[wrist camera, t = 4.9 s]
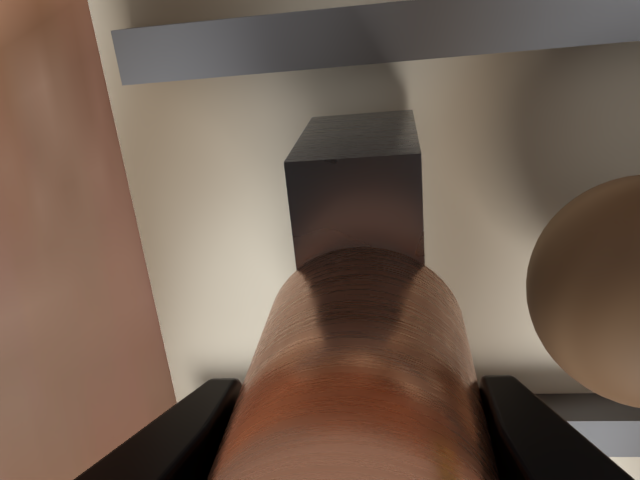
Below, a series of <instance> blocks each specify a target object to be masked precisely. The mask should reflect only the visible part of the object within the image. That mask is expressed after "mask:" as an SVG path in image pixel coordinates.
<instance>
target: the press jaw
mask: <svg viewBox="0 0 640 480" xmlns="http://www.w3.org/2000/svg"><path fill="white" fill-rule="evenodd" d="M284 170H285V178H286V187H287V195H288V203H289V212H290V220H291V228H292V237H293V245H294V254H295V262H296V271H295V272H294V273H293V274H292V275H291V276H290V277H289V278H288V279H287V281H286V282H285V283H284V284H283V286H282V287H281V289H280V290H279V292H278V294H277V296H276V298H275V300H274V303H273V305H272V308H271V310H270V313H269V316H268V318H267V321H266V324H265V326H264V329H263V332H262V334H261V337H260V340H259V342H258V345H257V348H256V350H255V353H254V356H253V358H252V361H251V364H250V366H249V369H248V372H247V374H246V377H245V380H244V382H243V385H242V387H241V390H240V393H239V395H238V398H237V401H236V403H235V406H234V409H233V411H232V414H231V417H230V419H229V422H228V425H227V427H226V430H225V433H224V435H223V438H222V441H221V443H220V446H219V449H218V451H217V454H216V457H215V459H214V462H213V465H212V467H211V470H210V473H209V475H208V478H207V480H500V478H499V474H498V469H497V465H496V461H495V456H494V452H493V447H492V443H491V439H490V434H489V430H488V425H487V421H486V417H485V412H484V408H483V403H482V399H481V395H480V390H479V386H478V381H477V377H476V372H475V368H474V364H473V359H472V355H471V351H470V346H469V342H468V337H467V333H466V329H465V324H464V320H463V316H462V312H461V309H460V307H459V304H458V302H457V300H456V298H455V296H454V295H453V293H452V291H451V290H450V289H449V287H448V286H447V285H446V284H445V282H444V281H443V280H442V279H441V278H440V277H439V276H438V275H437V274H436V273H435V272H434V271H432V270H431V269H429V268H428V267H427V266H425V253H424V222H423V190H422V159H421V149H420V144H419V139H418V134H417V129H416V124H415V119H414V114H413V110H401V111H388V112H374V113H361V114H348V115H335V116H321V117H312V118H311V120H310V121H309V123H308V124H307V126H306V128H305V129H304V131H303V132H302V134H301V135H300V137H299V139H298V140H297V142H296V143H295V145H294V147H293V148H292V150H291V151H290V153H289V155H288V156H287V158H286V159H285V161H284Z"/></svg>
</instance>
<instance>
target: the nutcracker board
mask: <svg viewBox="0 0 640 480" xmlns="http://www.w3.org/2000/svg"><path fill="white" fill-rule="evenodd" d="M88 4H89V9H90V13H91V18H92V22H93V27H94V31H95V36H96V40H97V45H98V49H99V54H100V58H101V63H102V67H103V72H104V76H105V81H106V85H107V90H108V95H109V99H110V104H111V108H112V113H113V117H114V122H115V126H116V131H117V135H118V140H119V144H120V149H121V153H122V158H123V162H124V167H125V171H126V176H127V180H128V185H129V189H130V194H131V198H132V203H133V207H134V212H135V216H136V221H137V225H138V230H139V234H140V239H141V243H142V248H143V252H144V257H145V261H146V266H147V270H148V275H149V279H150V284H151V288H152V293H153V297H154V302H155V306H156V311H157V315H158V320H159V324H160V329H161V333H162V338H163V342H164V347H165V351H166V356H167V360H168V365H169V369H170V374H171V378H172V383H173V387H174V392H175V396H176V401H177V403H178V402H179V401H181V400H182V399H183V398H185V397H186V396H187V395H189V394H190V393H192V392H193V391H194V390H196V389H197V388H198V387H200V386H201V385H202V384H204V383H205V382H206V381H208V380H210V379H212V378H237V379H239V380H240V382H241V384H242V385H243V382H244V380H245V377H246V374H247V372H248V369H249V366H250V364H251V361H252V358H253V356H254V353H255V350H256V348H257V345H258V342H259V340H260V337H261V334H262V332H263V329H264V326H265V324H266V321H267V318H268V316H269V313H270V310H271V308H272V305H273V303H274V300H275V298H276V296H277V294H278V292H279V290H280V289H281V287H282V286H283V284H284V283H285V282H286V281H287V279H288V278H289V277H290V276H291V275H292V274H293V273H294V272H295V271H296V262H295V254H294V245H293V237H292V228H291V220H290V212H289V203H288V195H287V187H286V178H285V170H284V161H285V159H286V158H287V156H288V155H289V153H290V151H291V150H292V148H293V147H294V145H295V143H296V142H297V140H298V139H299V137H300V135H301V134H302V132H303V131H304V129H305V128H306V126H307V124H308V123H309V121H310V120H311V118H312V117H321V116H335V115H348V114H361V113H374V112H388V111H401V110H413V114H414V119H415V124H416V129H417V134H418V139H419V144H420V149H421V159H422V190H423V222H424V253H425V266H427V267H428V268H429V269H431V270H432V271H434V272H435V273H436V274H437V275H438V276H439V277H440V278H441V279H442V280H443V281H444V282H445V284H446V285H447V286H448V287H449V289H450V290H451V291H452V293H453V295H454V296H455V298H456V300H457V302H458V304H459V307H460V309H461V312H462V316H463V320H464V324H465V329H466V333H467V337H468V342H469V346H470V351H471V355H472V359H473V364H474V368H475V372H476V377H477V381H478V386H479V384H480V379H481V377H482V376H484V375H512V376H514V377H515V378H516V379H518V380H519V381H520V382H521V383H522V384H523V385H525V386H526V387H527V388H528V389H529V390H530V391H532V392H533V393H534V394H535V395H536V396H538V397H539V398H540V399H541V400H542V401H543V402H545V403H546V404H547V405H548V406H549V407H550V408H552V409H553V410H554V411H555V412H556V413H557V414H559V415H560V416H561V417H562V418H563V419H564V420H566V421H567V422H568V423H569V424H570V425H572V426H573V427H574V428H575V429H576V430H577V431H579V432H580V433H581V434H582V435H583V436H584V437H586V438H587V439H588V440H589V441H590V442H591V443H593V444H594V445H595V446H596V447H597V448H598V449H600V450H601V451H602V452H603V453H604V454H606V455H607V456H608V457H609V458H610V459H611V460H613V461H614V462H615V463H616V464H617V465H618V466H620V467H621V468H622V469H623V470H624V471H625V472H627V473H628V474H629V475H630V476H631V477H632V478H634V479H635V480H640V408H637V407H631V406H628V405H624V404H620V403H617V402H615V401H612V400H610V399H607V398H605V397H602V396H600V395H598V394H596V393H594V392H593V391H591V390H589V389H587V388H586V387H584V386H583V385H581V384H580V383H579V382H577V381H576V380H574V379H573V378H572V377H570V376H569V375H568V374H567V373H566V372H565V371H564V370H563V369H562V368H561V367H560V366H559V365H558V364H557V363H556V362H555V361H554V360H553V359H552V357H551V356H550V355H549V353H548V352H547V351H546V349H545V348H544V346H543V344H542V342H541V341H540V339H539V337H538V335H537V333H536V332H535V329H534V326H533V323H532V321H531V318H530V314H529V310H528V305H527V298H526V277H527V269H528V265H529V261H530V257H531V254H532V251H533V249H534V247H535V244H536V242H537V240H538V238H539V236H540V234H541V233H542V231H543V229H544V228H545V227H546V225H547V224H548V223H549V221H550V220H551V219H552V218H553V217H554V216H555V215H556V214H557V212H558V211H559V210H560V209H561V208H563V207H564V206H565V205H566V204H568V203H569V202H570V201H571V200H572V199H574V198H575V197H577V196H579V195H580V194H582V193H583V192H585V191H587V190H589V189H591V188H593V187H595V186H597V185H599V184H602V183H605V182H608V181H611V180H614V179H618V178H622V177H626V176H634V175H640V0H88Z"/></svg>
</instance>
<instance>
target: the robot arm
mask: <svg viewBox="0 0 640 480" xmlns="http://www.w3.org/2000/svg"><path fill="white" fill-rule="evenodd" d="M241 387H242V384H241V382H240V380H239V379H237V378H212V379H210V380H208V381H206V382H205V383H204V384H202V385H201V386H200V387H198V388H197V389H196V390H194V391H193V392H192V393H190V394H189V395H187V396H186V397H185V398H183V399H182V400H181V401H179V402H178V403H177V404H175V405H174V406H173V407H171V408H170V409H169V410H167V411H166V412H164V413H163V414H162V415H160V416H159V417H158V418H156V419H155V420H154V421H152V422H151V423H150V424H148V425H147V426H146V427H144V428H143V429H141V430H140V431H139V432H137V433H136V434H135V435H133V436H132V437H131V438H129V439H128V440H127V441H125V442H124V443H123V444H121V445H120V446H118V447H117V448H116V449H114V450H113V451H112V452H110V453H109V454H108V455H106V456H105V457H104V458H102V459H101V460H100V461H98V462H97V463H95V464H94V465H93V466H91V467H90V468H89V469H87V470H86V471H85V472H83V473H82V474H81V475H79V476H78V477H76V478H75V479H74V480H207V478H208V475H209V473H210V470H211V467H212V465H213V462H214V459H215V457H216V454H217V451H218V449H219V446H220V443H221V441H222V438H223V435H224V433H225V430H226V427H227V425H228V422H229V419H230V417H231V414H232V411H233V409H234V406H235V403H236V401H237V398H238V395H239V393H240V390H241ZM479 390H480V395H481V399H482V403H483V408H484V412H485V417H486V421H487V425H488V430H489V434H490V439H491V443H492V447H493V452H494V456H495V461H496V465H497V469H498V474H499V478H500V480H635V479H634V478H632V477H631V476H630V475H629V474H628V473H627V472H625V471H624V470H623V469H622V468H621V467H620V466H618V465H617V464H616V463H615V462H614V461H613V460H611V459H610V458H609V457H608V456H607V455H606V454H604V453H603V452H602V451H601V450H600V449H598V448H597V447H596V446H595V445H594V444H593V443H591V442H590V441H589V440H588V439H587V438H586V437H584V436H583V435H582V434H581V433H580V432H579V431H577V430H576V429H575V428H574V427H573V426H572V425H570V424H569V423H568V422H567V421H566V420H564V419H563V418H562V417H561V416H560V415H559V414H557V413H556V412H555V411H554V410H553V409H552V408H550V407H549V406H548V405H547V404H546V403H545V402H543V401H542V400H541V399H540V398H539V397H538V396H536V395H535V394H534V393H533V392H532V391H530V390H529V389H528V388H527V387H526V386H525V385H523V384H522V383H521V382H520V381H519V380H518V379H516V378H515V377H514V376H512V375H484V376H482V377H481V379H480V384H479Z"/></svg>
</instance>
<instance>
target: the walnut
mask: <svg viewBox="0 0 640 480" xmlns="http://www.w3.org/2000/svg"><path fill="white" fill-rule="evenodd" d="M526 298H527V305H528V310H529V314H530V318H531V321H532V323H533V326H534V329H535V332H536V333H537V335H538V337H539V339H540V341H541V342H542V344H543V346H544V348H545V349H546V351H547V352H548V353H549V355H550V356H551V357H552V359H553V360H554V361H555V362H556V363H557V364H558V365H559V366H560V367H561V368H562V369H563V370H564V371H565V372H566V373H567V374H568V375H569V376H570V377H572V378H573V379H574V380H576V381H577V382H579V383H580V384H581V385H583V386H584V387H586V388H587V389H589V390H591V391H593V392H594V393H596V394H598V395H600V396H602V397H605V398H607V399H610V400H612V401H615V402H617V403H620V404H624V405H628V406H631V407H637V408H640V175H634V176H626V177H622V178H618V179H614V180H611V181H608V182H605V183H602V184H599V185H597V186H595V187H593V188H591V189H589V190H587V191H585V192H583V193H582V194H580V195H579V196H577V197H575V198H574V199H572V200H571V201H570V202H569V203H568V204H566V205H565V206H564V207H563V208H561V209H560V210H559V211H558V212H557V214H556V215H555V216H554V217H553V218H552V219H551V220H550V221H549V223H548V224H547V225H546V227H545V228H544V229H543V231H542V233H541V234H540V236H539V238H538V240H537V242H536V244H535V247H534V249H533V251H532V254H531V257H530V261H529V265H528V269H527V277H526Z"/></svg>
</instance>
